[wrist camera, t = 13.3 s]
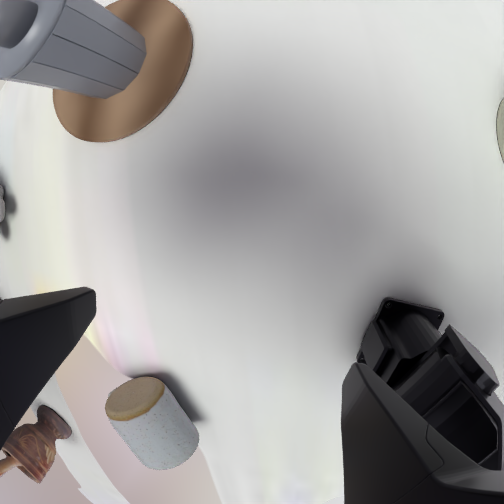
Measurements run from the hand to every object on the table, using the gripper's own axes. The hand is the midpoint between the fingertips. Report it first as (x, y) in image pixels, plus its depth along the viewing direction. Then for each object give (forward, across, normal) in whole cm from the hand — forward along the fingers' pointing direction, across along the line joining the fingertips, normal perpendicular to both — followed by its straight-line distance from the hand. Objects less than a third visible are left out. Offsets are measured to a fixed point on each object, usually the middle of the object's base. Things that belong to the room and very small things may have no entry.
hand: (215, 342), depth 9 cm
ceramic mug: (+13, +7, +21) cm, 26 cm away
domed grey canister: (+12, +15, -12) cm, 23 cm away
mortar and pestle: (+13, +28, +41) cm, 51 cm away
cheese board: (+14, +15, -12) cm, 24 cm away
